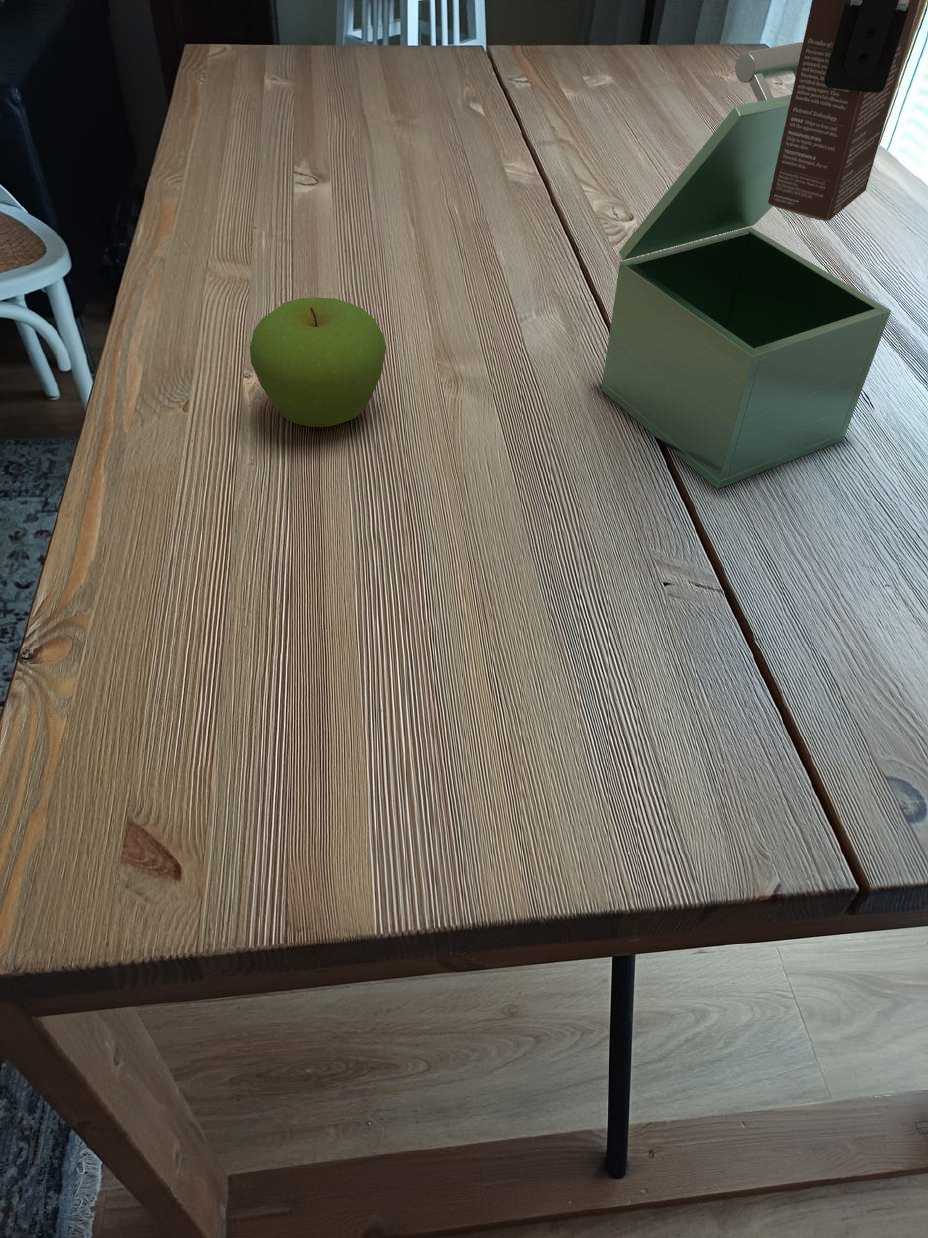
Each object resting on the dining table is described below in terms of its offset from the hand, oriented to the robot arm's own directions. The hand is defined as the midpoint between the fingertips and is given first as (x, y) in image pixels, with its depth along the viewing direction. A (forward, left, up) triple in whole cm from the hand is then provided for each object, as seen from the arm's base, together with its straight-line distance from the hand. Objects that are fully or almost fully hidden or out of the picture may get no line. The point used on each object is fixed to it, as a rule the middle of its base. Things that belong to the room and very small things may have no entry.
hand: (852, 63), depth 56 cm
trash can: (+2, -8, -30) cm, 31 cm away
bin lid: (+4, -10, -11) cm, 16 cm away
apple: (+34, +2, -30) cm, 45 cm away
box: (0, 0, -8) cm, 8 cm away
